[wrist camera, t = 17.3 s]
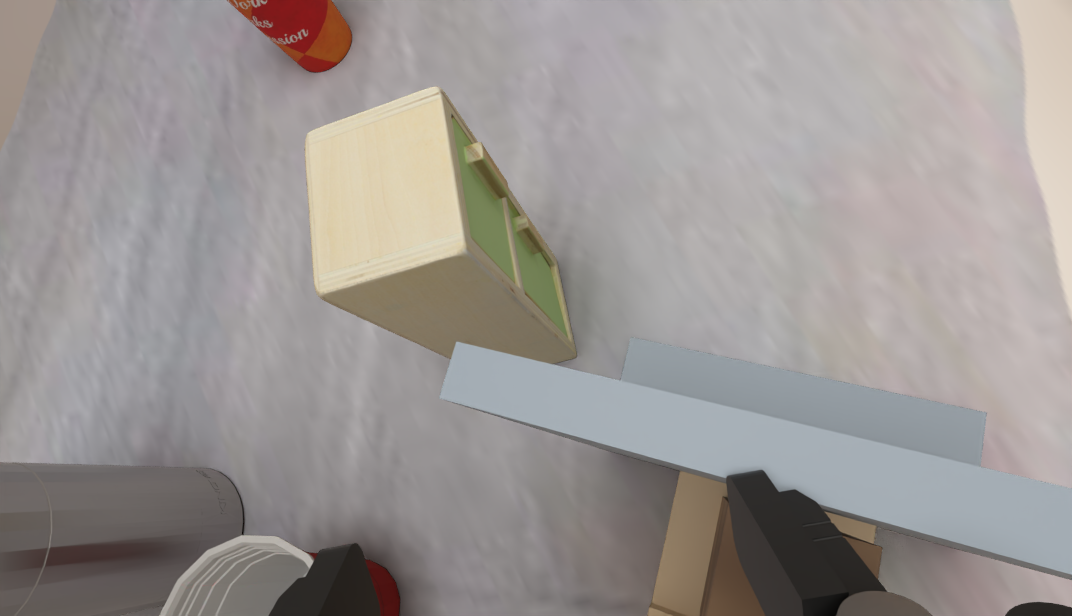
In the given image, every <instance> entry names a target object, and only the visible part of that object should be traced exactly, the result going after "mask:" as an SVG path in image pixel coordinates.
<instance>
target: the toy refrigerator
mask: <svg viewBox="0 0 1072 616" xmlns="http://www.w3.org/2000/svg"><path fill="white" fill-rule="evenodd" d="M305 166H306V179H307V192H308V205H309V219H310V234H311V249H312V264H313V278H314V286H315V290H316V293H317V295H318V296H319V297H320V298H321V299H322V300H324V301H326V302H328V303H330V304H332V305H334V306H336V307H338V308H340V309H343V310H345V311H347V312H349V313H351V314H354V315H356V316H358V317H360V318H362V319H364V320H367V321H369V322H371V323H373V324H375V325H377V326H380V327H382V328H384V329H386V330H388V331H391V332H393V333H395V334H397V335H399V336H402V337H404V338H406V339H408V340H410V341H413V342H415V343H417V344H419V345H421V346H423V347H425V348H428V349H430V350H432V351H434V352H436V353H438V354H440V355H442V356H444V357H447V358H449V359H451V357H452V354H453V351H454V348H455V344H456V341H457V342H461V343H465V344H469V345H473V346H478V347H482V348H486V349H490V350H494V351H499V352H503V353H507V354H511V355H515V356H519V357H524V358H528V359H532V360H536V361H540V362H545V363H549V364H554V363H558V362H562V361H566V360H570V359H574V358H576V357H577V353H576V348H575V343H574V339H573V334H572V329H571V325H570V320H569V315H568V310H567V306H566V301H565V297H564V292H563V287H562V283H561V278H560V273H559V268H558V264H557V260H556V258H555V256H554V254H553V253H552V251H551V250H550V249H549V247H548V246H547V244H546V243H545V241H544V240H543V238H542V237H541V236H540V234H539V233H538V231H537V230H536V228H535V226H534V225H533V224H532V222H531V221H530V219H529V218H528V216H527V215H526V213H525V212H524V210H523V209H522V207H521V206H520V204H519V203H518V201H517V200H516V198H515V197H514V195H513V194H512V192H511V191H510V189H509V188H508V183H507V181H506V179H505V178H504V176H503V175H502V174H501V172H500V171H499V169H498V168H497V166H496V164H495V163H494V161H493V160H492V158H491V157H490V155H489V154H488V152H487V151H486V149H485V148H484V146H483V144H482V143H481V142H478V141H477V140H476V138H475V137H474V135H473V134H472V132H471V131H470V129H469V128H468V126H467V125H466V123H465V122H464V120H463V119H462V117H461V116H460V114H459V113H458V111H457V110H456V108H455V107H454V105H453V104H452V102H451V101H450V99H449V98H448V96H447V95H446V93H445V92H444V91H443V90H442V89H441V88H439V87H431V88H427V89H424V90H421V91H418V92H415V93H413V94H410V95H407V96H405V97H402V98H399V99H396V100H394V101H391V102H388V103H386V104H383V105H380V106H378V107H375V108H372V109H369V110H366V111H363V112H360V113H358V114H355V115H352V116H350V117H347V118H344V119H341V120H339V121H336V122H333V123H330V124H328V125H325V126H322V127H319V128H317V129H314V130H312V131H310V132H309V133H308V134H307V135H306V141H305Z"/></svg>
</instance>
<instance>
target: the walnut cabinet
mask: <svg viewBox="0 0 1072 616" xmlns="http://www.w3.org/2000/svg"><path fill="white" fill-rule="evenodd" d="M841 533H842V536H843V538H845V539H846V540H847V541H848V542H849V544H850V545H851V546H852V547H853V549H854V550H855V551H856V553H857V554H858V555H859V556H860V558H861V559H862V560H863V561H864V563H865V564H866V565H867V567H868V568H869V569H870V570H871V572H872V573H873V574H874V576H875V577H876V578H877V579H878V575H879V567H880V560H881V553H882V547H880V546H877V545H874V544H872V543H869V542H867V541H864V540H861V539H859V538H856V537H853V536H851V535H848V534H845V533H843V532H841ZM700 616H765V614H764V612H763V610H762V608H761V606H760V604H759V601H758V599H757V597H756V595H755V593H754V591H753V589H752V587H751V585H750V583H749V581H748V579H747V577H746V575H745V573H744V571H743V568H742V566H741V563H740V561H739V557H738V554H737V551H736V547H735V543H734V537H733V530H732V523H731V515H730V508H729V500H728V498H727V497H724V496H722V502H721V507H720V512H719V517H718V522H717V527H716V532H715V537H714V542H713V547H712V552H711V557H710V562H709V567H708V572H707V577H706V582H705V587H704V592H703V597H702V602H701V607H700Z"/></svg>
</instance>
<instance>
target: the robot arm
mask: <svg viewBox="0 0 1072 616" xmlns="http://www.w3.org/2000/svg"><path fill="white" fill-rule="evenodd" d="M726 485H727V493H728V500H729V508H730V515H731V523H732V530H733V537H734V543H735V547H736V551H737V554H738V557H739V561H740V563H741V566H742V568H743V571H744V573H745V575H746V577H747V579H748V581H749V583H750V585H751V587H752V589H753V591H754V593H755V595H756V597H757V599H758V601H759V604H760V606H761V608H762V610H763V612H764V614H765V616H932V615H931V614H930V613H929V612H928V611H927V610H926V609H925V608H923V607H922V606H921V605H919V604H917V603H916V602H914V601H912V600H910V599H908V598H906V597H903V596H900V595H897V594H894V593H889V592H887V591H886V590H885V588H884V587H883V586H882V584H881V583H880V582H879V581H878V579H877V578H876V577H875V576H874V574H873V573H872V572H871V570H870V569H869V568H868V567H867V565H866V564H865V563H864V561H863V560H862V559H861V558H860V556H859V555H858V554H857V553H856V551H855V550H854V549H853V547H852V546H851V545H850V544H849V542H848V541H847V540H846V539H845V538H843V536H842V533H841V532H840V531H839V530H838V528H837V527H836V526H835V524H834V523H831V519H830V518H829V517H828V516H827V514H826V513H825V512H824V510H823V509H822V508H821V507H820V505H819V504H818V503H817V502H816V501H814V500H813V499H811V498H809V497H808V496H806V495H804V494H803V493H801V492H799V491H798V490H796V489H793V490H787V491H782V492H779V491H778V490H777V488H776V487H775V486H774V484H773V483H772V481H771V480H770V478H769V477H768V476H767V474H766V473H765V471H763V470H762V469H761V470H756V471H750V472H745V473H739V474H734V475H728V476H727V477H726ZM242 527H243V512H242V506H241V502H240V497H239V495H238V493H237V491H236V489H235V487H234V485H233V484H232V483H231V482H230V480H229V479H228V478H227V477H225V476H224V475H223V474H221V473H220V472H217V471H215V470H212V469H205V468H178V467H151V466H117V465H82V464H47V463H6V462H0V616H119V615H123V614H127V613H132V612H136V611H141V610H145V609H150V608H154V607H159V606H163V605H165V603H166V601H167V599H168V597H169V595H170V594H171V592H172V590H173V588H174V586H175V584H176V582H177V580H178V579H179V578H180V577H181V576H182V575H183V574H184V573H185V572H186V571H187V570H188V569H189V568H190V567H191V566H192V565H193V564H194V563H195V562H196V561H197V560H198V559H199V558H200V557H201V556H202V555H203V554H204V553H205V552H206V551H207V550H209V549H211V548H213V547H216V546H218V545H220V544H223V543H225V542H227V541H230V540H232V539H234V538H236V537H239V536H241V535H242ZM269 616H381V613H380V604H379V600H378V597H377V594H376V591H375V588H374V585H373V582H372V579H371V576H370V573H369V570H368V567H367V564H366V561H365V558H364V555H363V552H362V550H361V548H360V546H359V545H358V544H356V543H355V544H349V545H343V546H338V547H332V548H326V549H322V550H320V551H319V553H318V554H317V556H316V558H315V560H314V562H313V564H312V565H311V567H310V569H309V571H308V573H307V575H306V577H302V578H298V579H297V580H296V581H295V582H294V583H293V584H292V585H291V586H290V587H289V588H288V589H287V590H286V591H285V592H284V593H283V594H282V595H281V596H280V597H279V598H278V600H277V601H276V603H275V605H274V607H273V609H272V610H271V612H270V614H269ZM1005 616H1072V608H1071V607H1067V606H1063V605H1059V604H1053V603H1044V602H1032V603H1025V604H1021V605H1018V606H1015V607H1014V608H1012V609H1010V610H1009V611H1008V612H1007V614H1006V615H1005Z"/></svg>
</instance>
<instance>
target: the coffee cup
mask: <svg viewBox="0 0 1072 616" xmlns="http://www.w3.org/2000/svg"><path fill="white" fill-rule="evenodd" d="M227 1H228V2H229V3H230V4H232V5H233V6H234V7H235V8H236V9H237V10H238V11H239V12H240V13H242V14H243V15H244V16H245V17H246V18H247V19H248V20H249V21H250V22H252V23H253V24H254V25H255V26H256V27H257V28H258V29H259V30H261V31H262V32H263V33H264V34H265V35H266V36H267V37H268V38H269V39H271V40H272V41H273V42H274V43H275V44H276V45H277V46H278V47H280V48H281V49H282V50H283V51H284V52H285V53H286V54H287V55H289V56H290V57H291V58H292V59H293V60H294V61H296V62H297V63H298V64H299V65H300V66H302V67H303V68H304V69H306V70H308V71H310V72H323V71H326V70H329V69H331V68H332V67H334V66H336V65H337V64H338V63H339V62H340V61H341V60H342V59H343V58H344V57H345V56H346V54H347V52H348V50H349V48H350V46H351V42H352V34H351V30H350V28H349V26H348V25H347V23H346V21H345V20H344V18H343V17H342V15H341V14H340V12H339V11H338V9H337V8H336V6H335V5H334V4H333V2H332V1H331V0H227Z"/></svg>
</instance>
